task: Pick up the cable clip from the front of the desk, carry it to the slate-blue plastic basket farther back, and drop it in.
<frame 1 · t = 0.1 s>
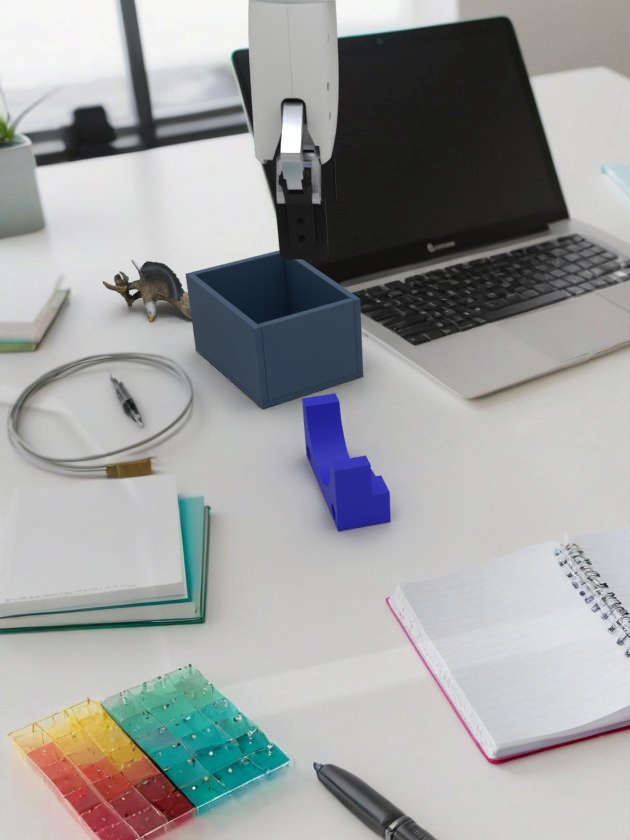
hand: (310, 229, 81), 26 cm above the table, tool pointing down, fingers open, 9 cm apart
basket: (278, 363, 118), on the table
cable clip: (347, 489, 101), on the table
eagle figurine: (161, 315, 126), on the table
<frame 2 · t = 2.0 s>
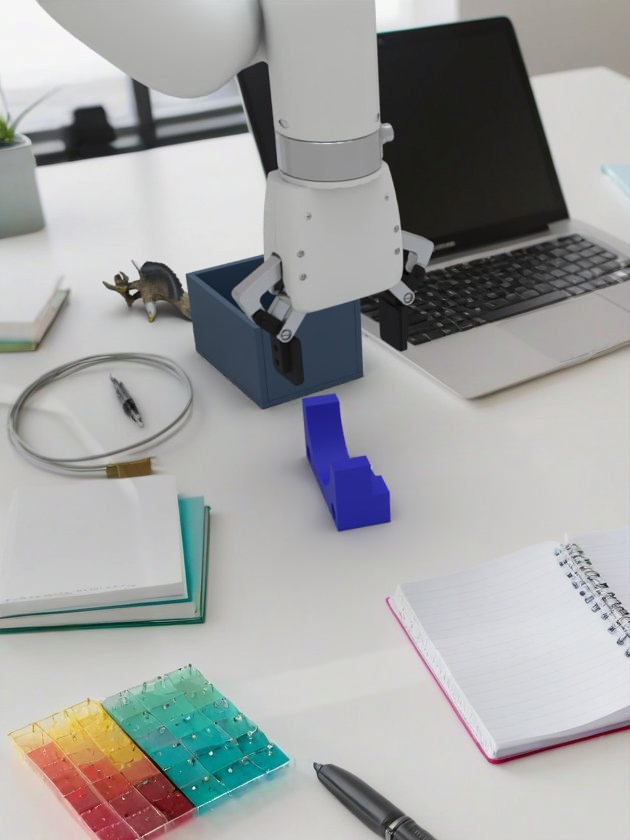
hand: (343, 361, 93), 12 cm above the table, tool pointing down, fingers open, 9 cm apart
nothing on the table moved.
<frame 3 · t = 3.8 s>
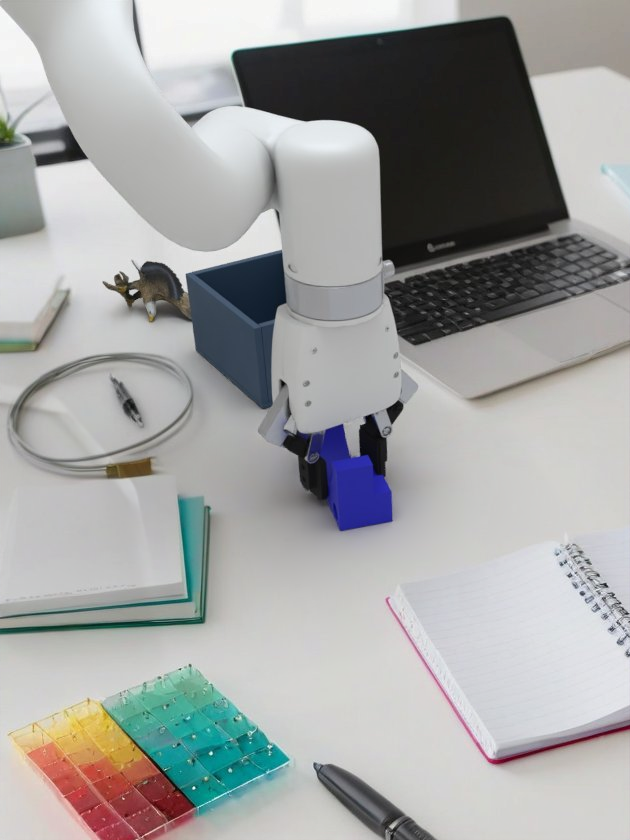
hand: (344, 479, 100), 1 cm above the table, tool pointing down, fingers closed on cable clip, 5 cm apart
cable clip: (348, 488, 101), on the table, touching gripper
everything else where it was.
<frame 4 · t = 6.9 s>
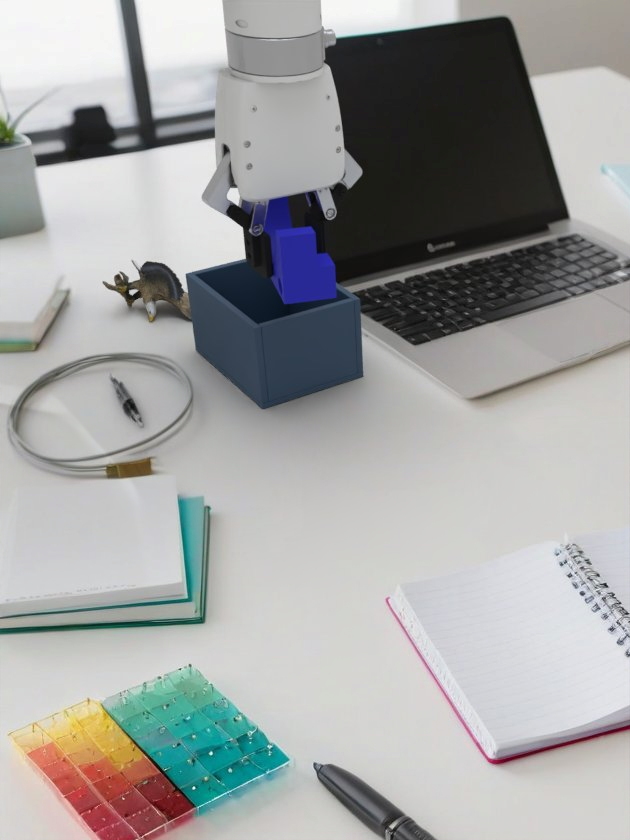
hand: (290, 263, 102), 15 cm above the table, tool pointing down, fingers closed on cable clip, 5 cm apart
cable clip: (294, 274, 103), point 14 cm above the table, touching gripper
everything else where it was.
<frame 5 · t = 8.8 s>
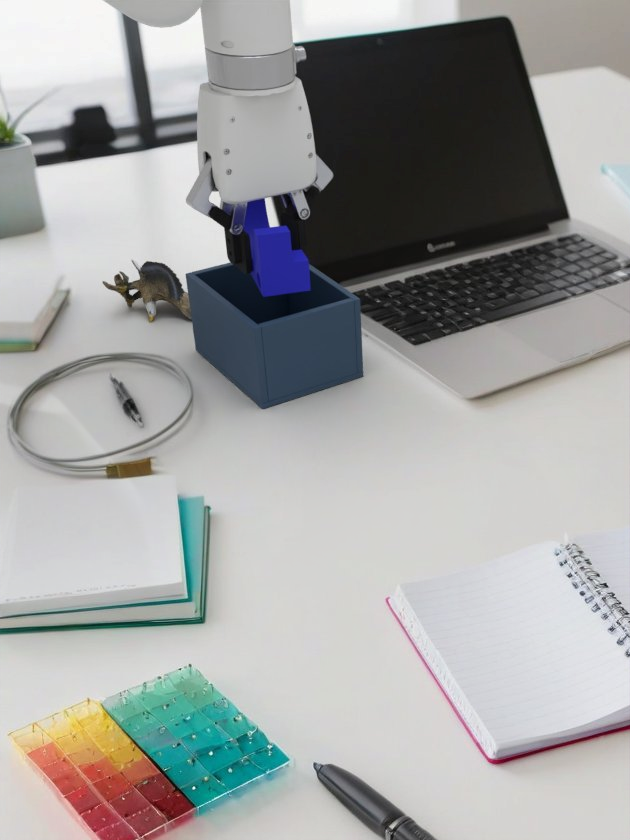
hand: (268, 260, 112), 11 cm above the table, tool pointing down, fingers closed on cable clip, 5 cm apart
cable clip: (272, 270, 112), point 10 cm above the table, touching gripper
everything else where it was.
when the fingers open (8 cm above the table, at t = 10.1 s): cable clip drops 7 cm, resting on basket.
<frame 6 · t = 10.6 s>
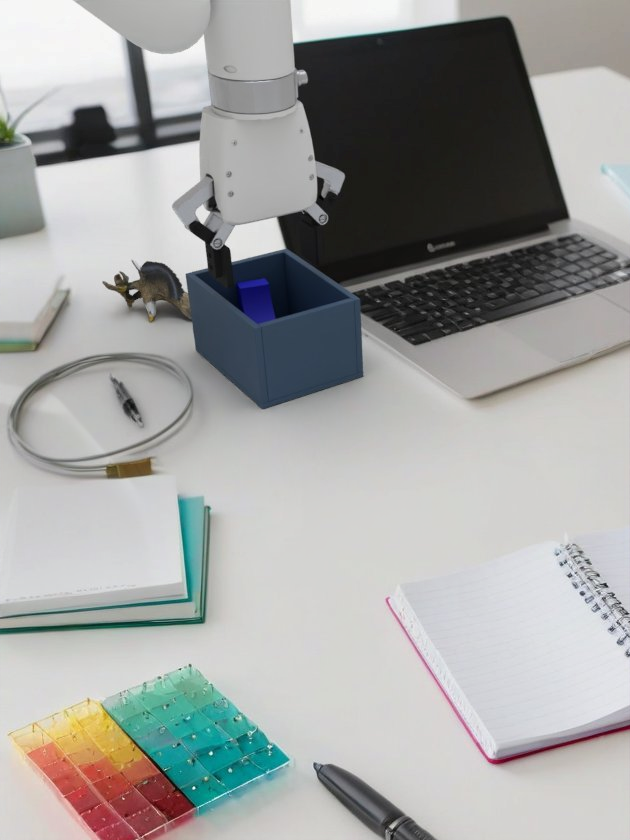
hand: (268, 271, 112), 10 cm above the table, tool pointing down, fingers open, 9 cm apart
cable clip: (279, 358, 118), resting on basket
everything else where it was.
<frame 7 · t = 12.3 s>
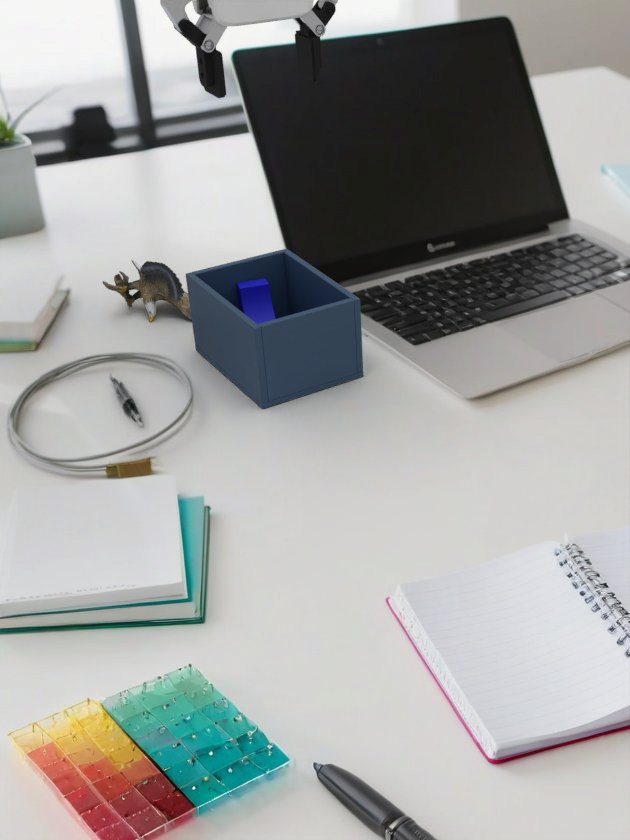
hand: (263, 86, 107), 26 cm above the table, tool pointing down, fingers open, 9 cm apart
nothing on the table moved.
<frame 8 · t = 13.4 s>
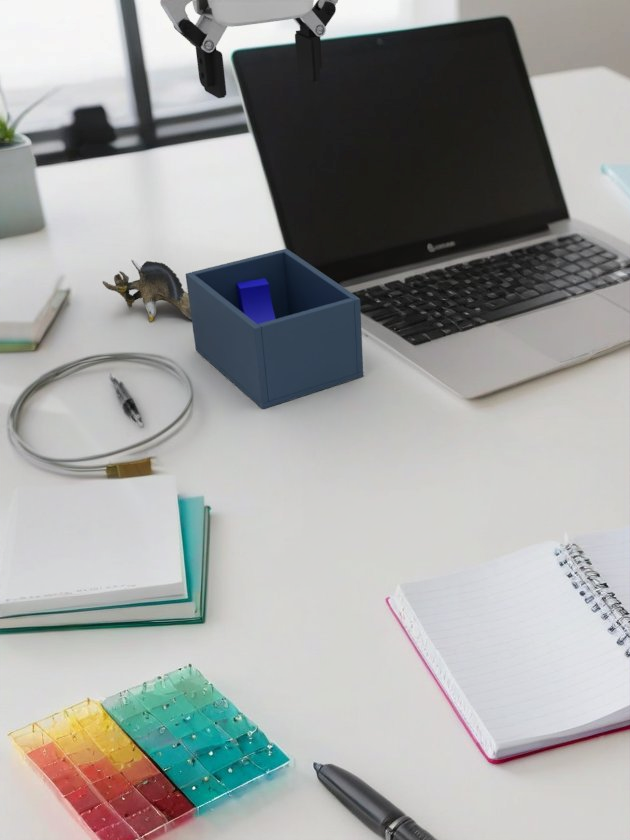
hand: (263, 86, 107), 26 cm above the table, tool pointing down, fingers open, 9 cm apart
nothing on the table moved.
at the end: cable clip inside the target area in the basket (0.2 cm from its centre), point 0.4 cm above the basket's base; the gripper is holding nothing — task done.
